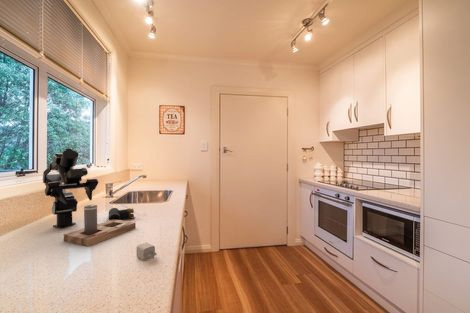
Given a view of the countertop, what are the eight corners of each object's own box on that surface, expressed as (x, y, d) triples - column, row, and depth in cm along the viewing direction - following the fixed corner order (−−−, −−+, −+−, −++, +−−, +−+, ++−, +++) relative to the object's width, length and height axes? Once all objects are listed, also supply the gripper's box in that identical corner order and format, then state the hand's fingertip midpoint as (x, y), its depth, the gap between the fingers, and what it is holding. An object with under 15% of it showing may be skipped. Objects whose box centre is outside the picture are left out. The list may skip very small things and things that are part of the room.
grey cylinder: (81, 240, 88) (80, 207, 88) (89, 235, 93) (89, 204, 93) (92, 240, 88) (91, 207, 88) (100, 236, 93) (100, 204, 92)
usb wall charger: (147, 253, 77) (147, 241, 77) (159, 259, 72) (159, 247, 72) (136, 257, 73) (136, 245, 73) (147, 264, 69) (147, 251, 69)
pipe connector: (131, 205, 126) (134, 211, 113) (132, 214, 126) (135, 221, 113) (108, 208, 120) (108, 214, 107) (108, 218, 120) (108, 225, 107)
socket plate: (63, 240, 88) (63, 233, 88) (113, 224, 108) (113, 218, 108) (88, 246, 82) (88, 238, 82) (135, 227, 103) (135, 221, 103)
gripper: (46, 162, 91) (57, 192, 84) (96, 161, 106) (108, 186, 100) (40, 181, 95) (50, 210, 89) (88, 177, 111) (100, 202, 104)
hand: (79, 201), depth 95 cm, fingers open, 9 cm apart
